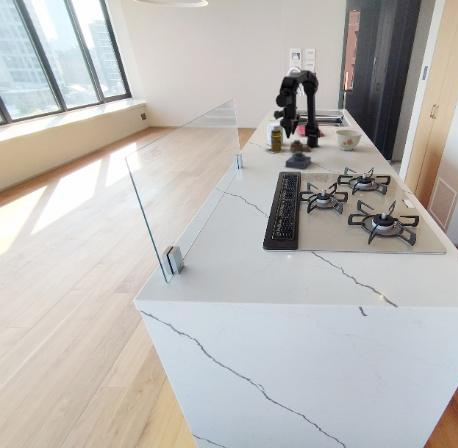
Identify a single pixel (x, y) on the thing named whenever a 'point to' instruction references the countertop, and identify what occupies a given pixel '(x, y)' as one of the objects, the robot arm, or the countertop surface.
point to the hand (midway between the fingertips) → (290, 136)
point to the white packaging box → (274, 127)
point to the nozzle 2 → (298, 153)
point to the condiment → (275, 141)
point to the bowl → (348, 138)
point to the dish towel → (303, 130)
